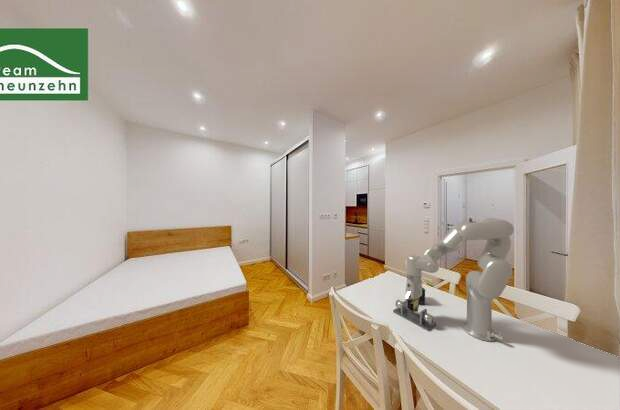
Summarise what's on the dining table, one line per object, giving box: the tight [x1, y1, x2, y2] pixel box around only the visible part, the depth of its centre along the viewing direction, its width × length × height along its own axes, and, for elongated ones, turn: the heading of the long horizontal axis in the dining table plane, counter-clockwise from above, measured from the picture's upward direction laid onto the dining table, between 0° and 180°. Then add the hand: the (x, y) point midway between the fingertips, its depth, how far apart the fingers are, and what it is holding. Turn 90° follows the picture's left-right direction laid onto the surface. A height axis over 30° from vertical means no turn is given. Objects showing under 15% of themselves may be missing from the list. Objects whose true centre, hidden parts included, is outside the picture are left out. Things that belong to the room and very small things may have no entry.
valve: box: [409, 296, 419, 313], centre depth 109 cm, size 5×5×7 cm
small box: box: [418, 286, 426, 306], centre depth 128 cm, size 11×6×10 cm, turn 179°
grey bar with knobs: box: [392, 299, 437, 332], centre depth 109 cm, size 20×9×7 cm, turn 33°
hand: (413, 307), depth 109 cm, fingers closed on valve, 5 cm apart
